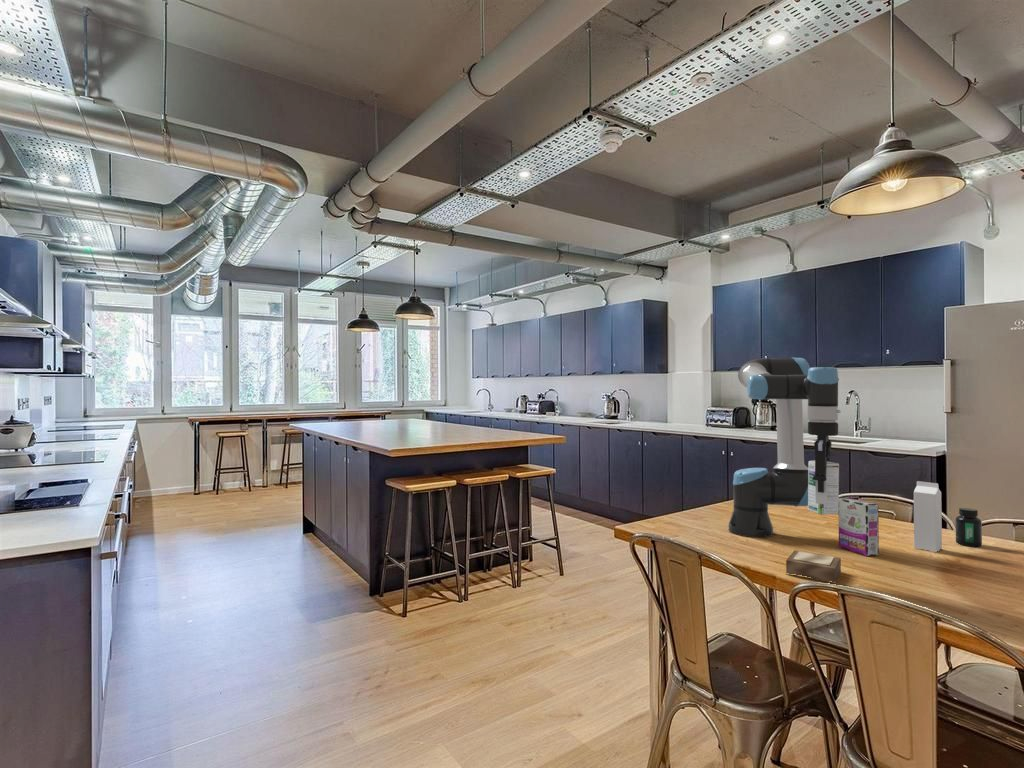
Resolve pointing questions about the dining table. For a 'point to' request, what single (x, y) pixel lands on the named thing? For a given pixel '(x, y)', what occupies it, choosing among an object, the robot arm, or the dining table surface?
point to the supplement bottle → (968, 528)
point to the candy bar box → (859, 526)
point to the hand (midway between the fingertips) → (823, 500)
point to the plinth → (814, 566)
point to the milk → (927, 516)
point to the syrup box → (832, 489)
